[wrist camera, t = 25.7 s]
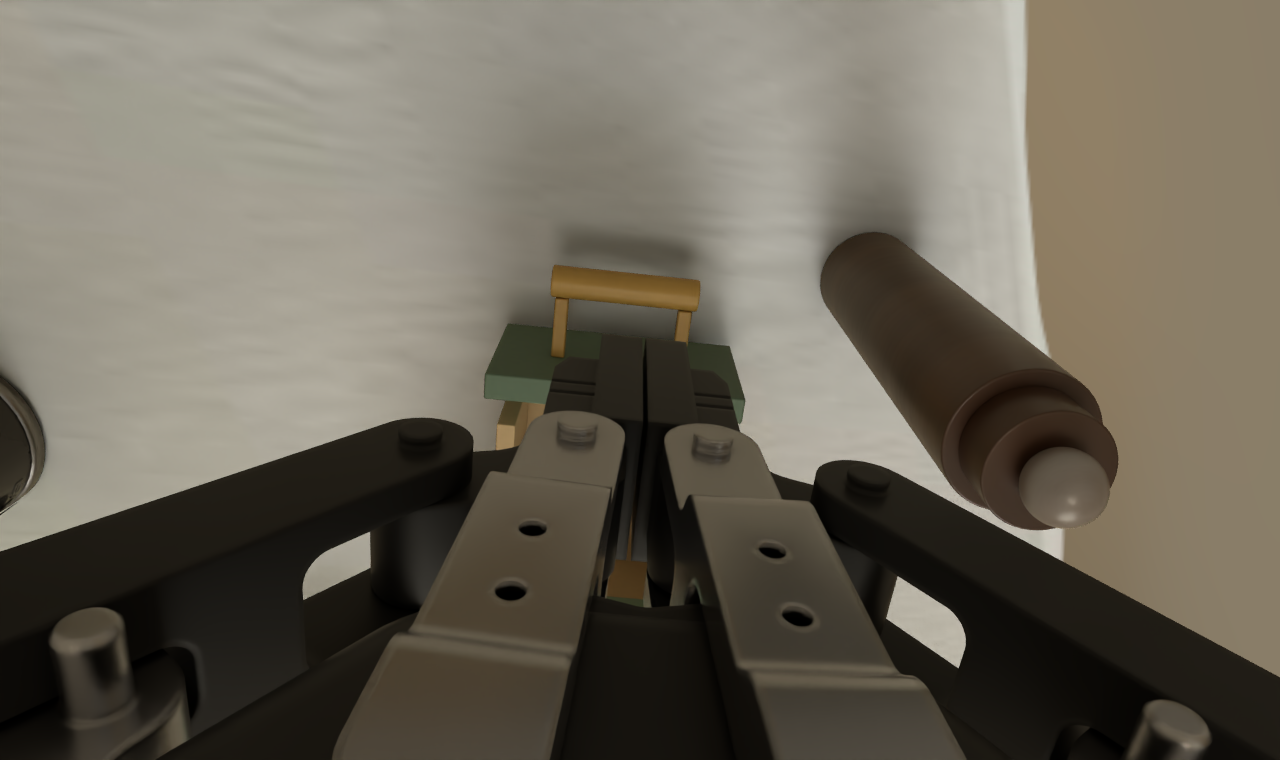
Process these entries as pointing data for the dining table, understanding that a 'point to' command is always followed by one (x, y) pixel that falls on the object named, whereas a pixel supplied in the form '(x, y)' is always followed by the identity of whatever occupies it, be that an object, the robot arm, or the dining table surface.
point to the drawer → (537, 350)
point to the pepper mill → (973, 388)
